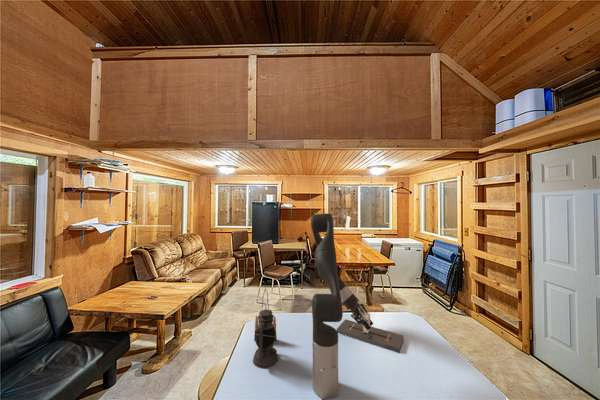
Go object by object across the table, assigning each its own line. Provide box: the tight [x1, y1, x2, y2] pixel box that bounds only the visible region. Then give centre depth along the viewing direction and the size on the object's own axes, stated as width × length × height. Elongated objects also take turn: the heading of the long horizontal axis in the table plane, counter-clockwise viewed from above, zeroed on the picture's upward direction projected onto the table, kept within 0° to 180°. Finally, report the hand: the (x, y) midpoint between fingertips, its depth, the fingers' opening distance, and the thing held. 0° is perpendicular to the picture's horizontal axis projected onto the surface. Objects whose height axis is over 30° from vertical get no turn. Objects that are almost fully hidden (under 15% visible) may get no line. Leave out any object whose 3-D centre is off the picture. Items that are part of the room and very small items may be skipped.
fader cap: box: [363, 312, 371, 333], centre depth 116 cm, size 2×4×8 cm, turn 148°
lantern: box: [252, 288, 279, 369], centre depth 99 cm, size 12×11×30 cm
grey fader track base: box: [336, 318, 405, 354], centre depth 116 cm, size 30×12×2 cm, turn 58°
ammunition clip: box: [254, 315, 278, 343], centre depth 112 cm, size 11×2×12 cm, turn 87°
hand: (370, 326), depth 115 cm, fingers closed on fader cap, 4 cm apart
